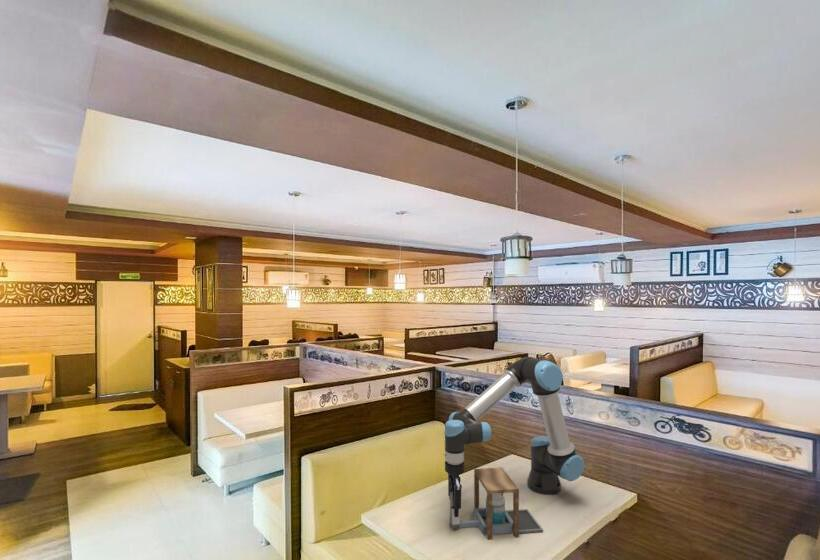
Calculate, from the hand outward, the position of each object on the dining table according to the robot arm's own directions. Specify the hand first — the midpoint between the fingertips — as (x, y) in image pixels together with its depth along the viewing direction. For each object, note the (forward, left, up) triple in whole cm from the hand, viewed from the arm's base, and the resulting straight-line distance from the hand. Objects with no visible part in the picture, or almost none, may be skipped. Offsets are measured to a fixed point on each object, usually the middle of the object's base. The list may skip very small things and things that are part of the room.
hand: (454, 520), depth 165 cm
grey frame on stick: (-10, 0, -2) cm, 10 cm away
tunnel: (-17, 0, -3) cm, 17 cm away
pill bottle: (-17, 0, -3) cm, 17 cm away
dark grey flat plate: (-28, 0, -3) cm, 28 cm away
